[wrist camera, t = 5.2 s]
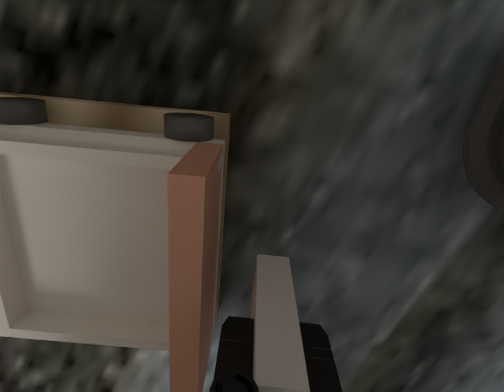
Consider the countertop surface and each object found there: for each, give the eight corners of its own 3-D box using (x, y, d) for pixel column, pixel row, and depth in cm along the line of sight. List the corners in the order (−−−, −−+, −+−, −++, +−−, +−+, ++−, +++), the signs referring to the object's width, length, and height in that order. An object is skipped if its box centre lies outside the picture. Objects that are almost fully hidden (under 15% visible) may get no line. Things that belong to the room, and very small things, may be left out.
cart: (228, 116, 16) (206, 145, 9) (216, 323, 21) (196, 438, 14) (-2, 94, 16) (-192, 108, 9) (41, 308, 21) (-61, 417, 14)
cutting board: (230, 113, 17) (229, 115, 16) (218, 310, 22) (216, 320, 21) (-238, 69, 17) (-267, 68, 16) (-142, 278, 22) (-160, 287, 21)
